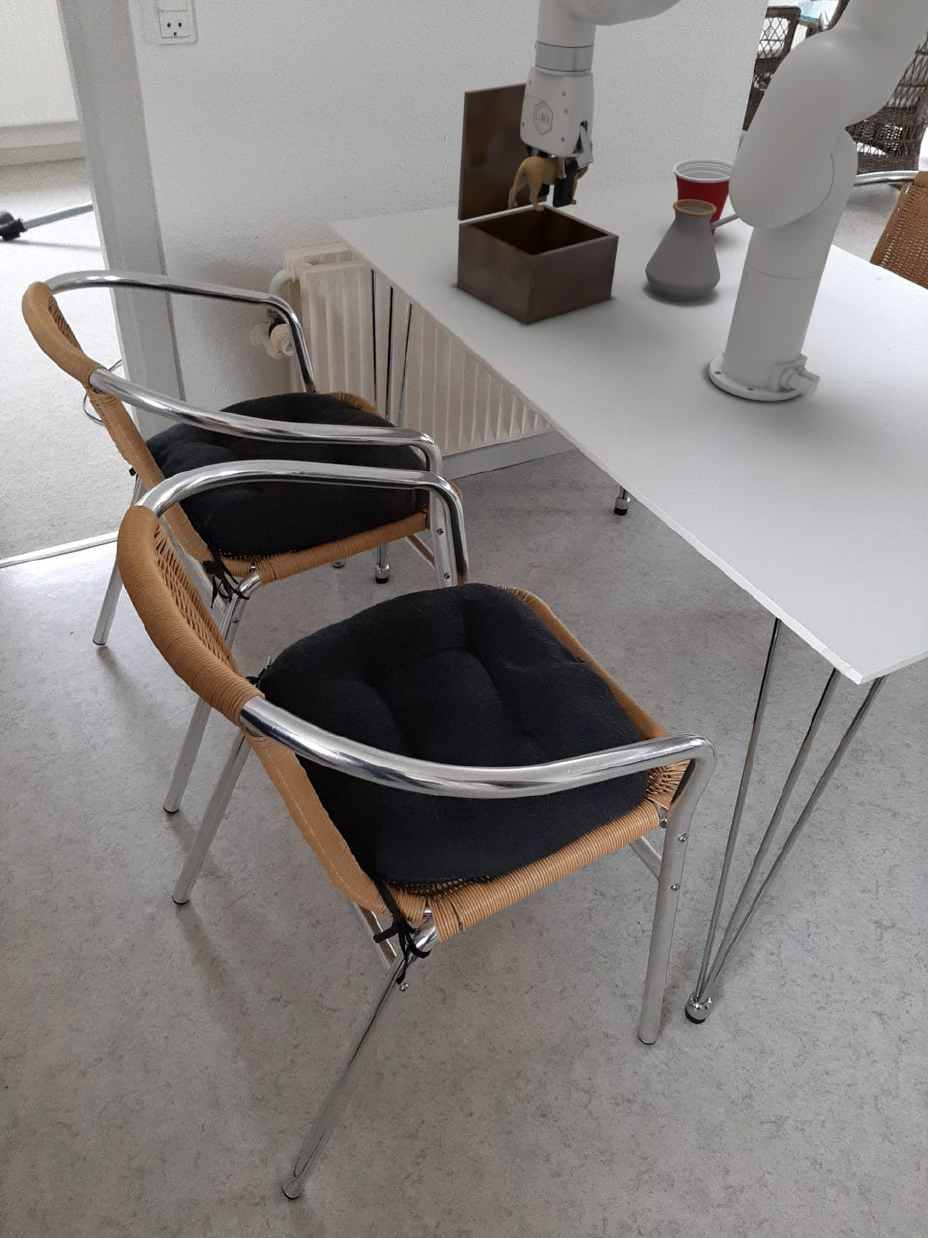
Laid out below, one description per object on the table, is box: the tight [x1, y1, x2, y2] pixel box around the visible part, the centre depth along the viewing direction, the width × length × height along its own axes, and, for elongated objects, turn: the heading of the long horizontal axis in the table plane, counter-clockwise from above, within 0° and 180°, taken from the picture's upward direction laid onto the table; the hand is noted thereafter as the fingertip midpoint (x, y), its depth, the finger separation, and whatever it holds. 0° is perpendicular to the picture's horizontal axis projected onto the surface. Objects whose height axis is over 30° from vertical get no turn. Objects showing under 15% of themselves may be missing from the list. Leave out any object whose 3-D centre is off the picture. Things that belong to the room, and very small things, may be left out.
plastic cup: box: [673, 157, 734, 237], centre depth 170 cm, size 11×11×12 cm
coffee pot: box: [644, 199, 740, 302], centre depth 152 cm, size 21×12×15 cm, turn 98°
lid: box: [457, 82, 553, 222], centre depth 147 cm, size 17×17×5 cm
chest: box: [456, 203, 620, 325], centre depth 151 cm, size 16×17×10 cm
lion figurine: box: [507, 139, 594, 211], centre depth 141 cm, size 15×5×9 cm, turn 130°
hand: (550, 199), depth 143 cm, fingers closed on lion figurine, 4 cm apart
